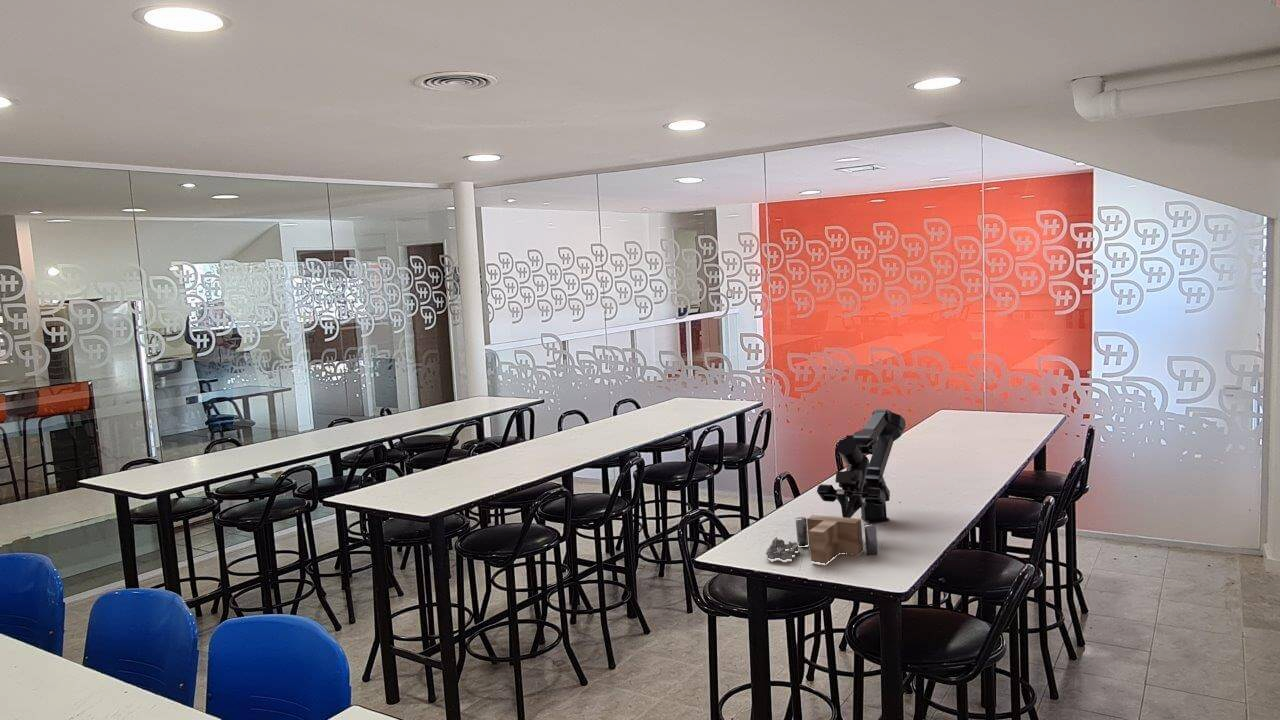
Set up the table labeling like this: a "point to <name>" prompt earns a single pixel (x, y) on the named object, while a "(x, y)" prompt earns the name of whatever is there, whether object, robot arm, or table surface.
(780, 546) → the grey jagged rock
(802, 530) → the goal posts
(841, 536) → the walnut T block
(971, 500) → the table surface
